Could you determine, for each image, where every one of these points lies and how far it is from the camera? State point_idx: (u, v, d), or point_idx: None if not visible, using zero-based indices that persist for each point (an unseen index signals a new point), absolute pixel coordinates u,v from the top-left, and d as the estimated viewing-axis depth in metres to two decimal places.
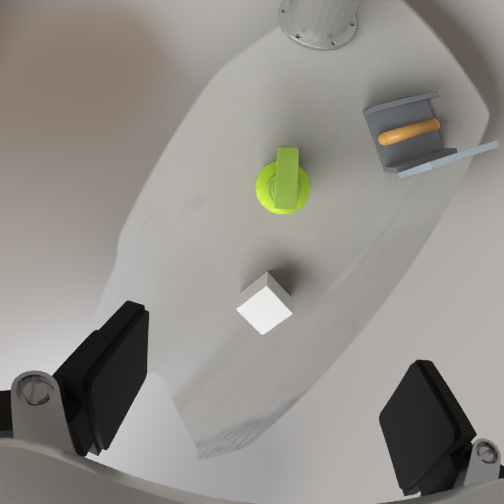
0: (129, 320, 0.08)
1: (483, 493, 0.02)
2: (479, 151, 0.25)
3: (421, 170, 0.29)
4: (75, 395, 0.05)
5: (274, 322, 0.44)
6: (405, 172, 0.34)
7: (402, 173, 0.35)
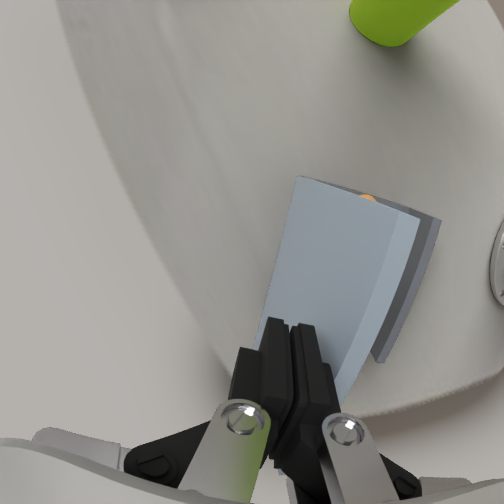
0: (283, 335, 0.09)
1: (483, 493, 0.02)
2: None
3: (359, 196, 0.10)
4: (273, 412, 0.06)
5: None
6: None
7: (314, 180, 0.15)
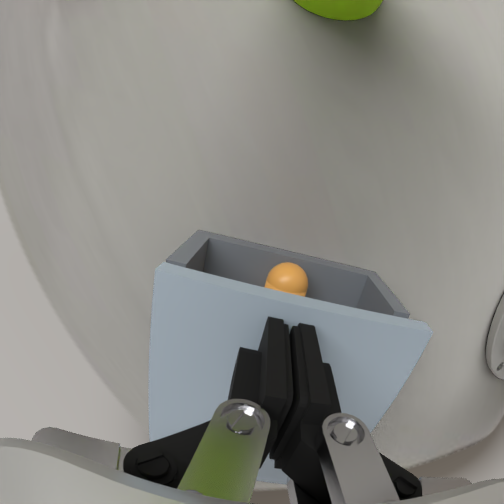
0: (283, 335, 0.09)
1: (483, 493, 0.02)
2: None
3: (373, 318, 0.10)
4: (273, 412, 0.06)
5: None
6: (237, 283, 0.10)
7: (205, 275, 0.10)
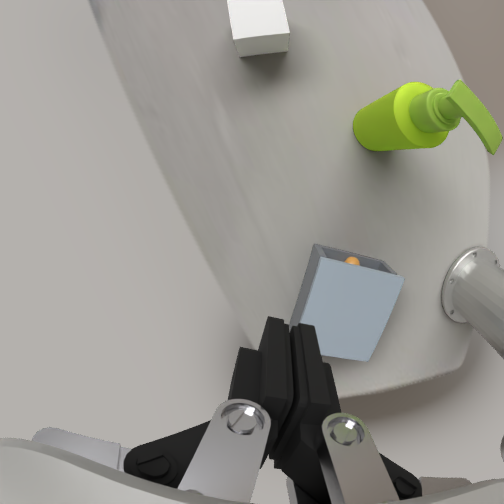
0: (283, 335, 0.09)
1: (483, 493, 0.02)
2: (380, 335, 0.33)
3: (384, 273, 0.31)
4: (273, 412, 0.06)
5: (234, 17, 0.24)
6: (344, 262, 0.31)
7: (335, 260, 0.31)
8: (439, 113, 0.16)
